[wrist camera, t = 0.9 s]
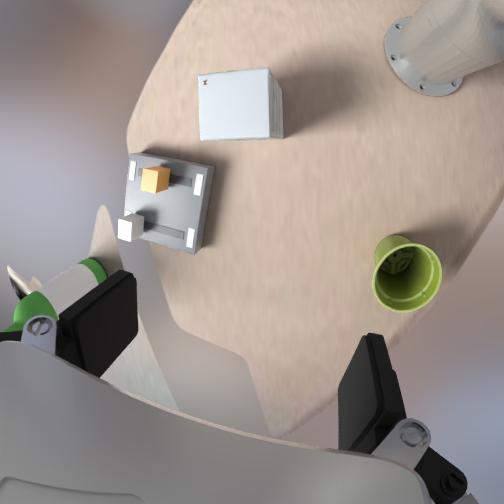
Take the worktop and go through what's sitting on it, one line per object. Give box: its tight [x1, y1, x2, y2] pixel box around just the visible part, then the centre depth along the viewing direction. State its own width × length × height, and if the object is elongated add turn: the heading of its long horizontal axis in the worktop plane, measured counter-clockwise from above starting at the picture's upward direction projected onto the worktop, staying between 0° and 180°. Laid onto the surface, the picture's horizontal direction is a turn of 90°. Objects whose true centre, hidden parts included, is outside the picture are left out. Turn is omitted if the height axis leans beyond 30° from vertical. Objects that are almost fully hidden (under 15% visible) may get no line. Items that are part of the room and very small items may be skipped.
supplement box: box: [198, 68, 284, 141], centre depth 31 cm, size 7×7×13 cm
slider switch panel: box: [124, 152, 215, 255], centre depth 43 cm, size 13×13×3 cm
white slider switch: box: [118, 213, 144, 242], centre depth 41 cm, size 3×2×4 cm
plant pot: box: [372, 235, 442, 313], centre depth 36 cm, size 9×9×9 cm
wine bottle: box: [3, 259, 107, 332], centre depth 40 cm, size 8×8×30 cm
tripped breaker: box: [141, 166, 171, 194], centre depth 38 cm, size 3×2×4 cm
